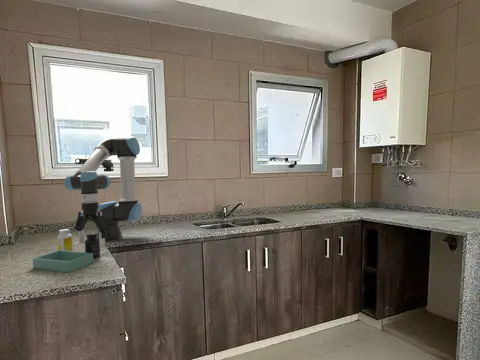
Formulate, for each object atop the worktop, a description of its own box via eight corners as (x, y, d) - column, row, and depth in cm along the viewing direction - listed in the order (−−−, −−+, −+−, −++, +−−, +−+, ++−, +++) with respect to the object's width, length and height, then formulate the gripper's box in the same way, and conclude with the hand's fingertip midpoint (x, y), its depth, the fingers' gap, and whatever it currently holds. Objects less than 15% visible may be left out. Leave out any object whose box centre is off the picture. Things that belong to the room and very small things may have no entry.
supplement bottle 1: (75, 251, 162) (74, 228, 161) (68, 255, 155) (67, 230, 154) (62, 252, 161) (61, 228, 161) (55, 255, 155) (54, 231, 154)
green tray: (60, 259, 148) (59, 250, 148) (93, 262, 141) (92, 253, 141) (33, 268, 136) (32, 258, 135) (68, 272, 128) (67, 262, 128)
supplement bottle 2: (102, 254, 154) (101, 231, 153) (96, 258, 147) (95, 234, 147) (89, 255, 154) (88, 232, 153) (82, 259, 147) (81, 235, 146)
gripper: (64, 202, 150) (67, 244, 151) (103, 203, 141) (105, 247, 142) (77, 201, 157) (79, 241, 158) (115, 201, 148) (117, 243, 149)
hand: (91, 244), depth 150 cm, fingers open, 13 cm apart
